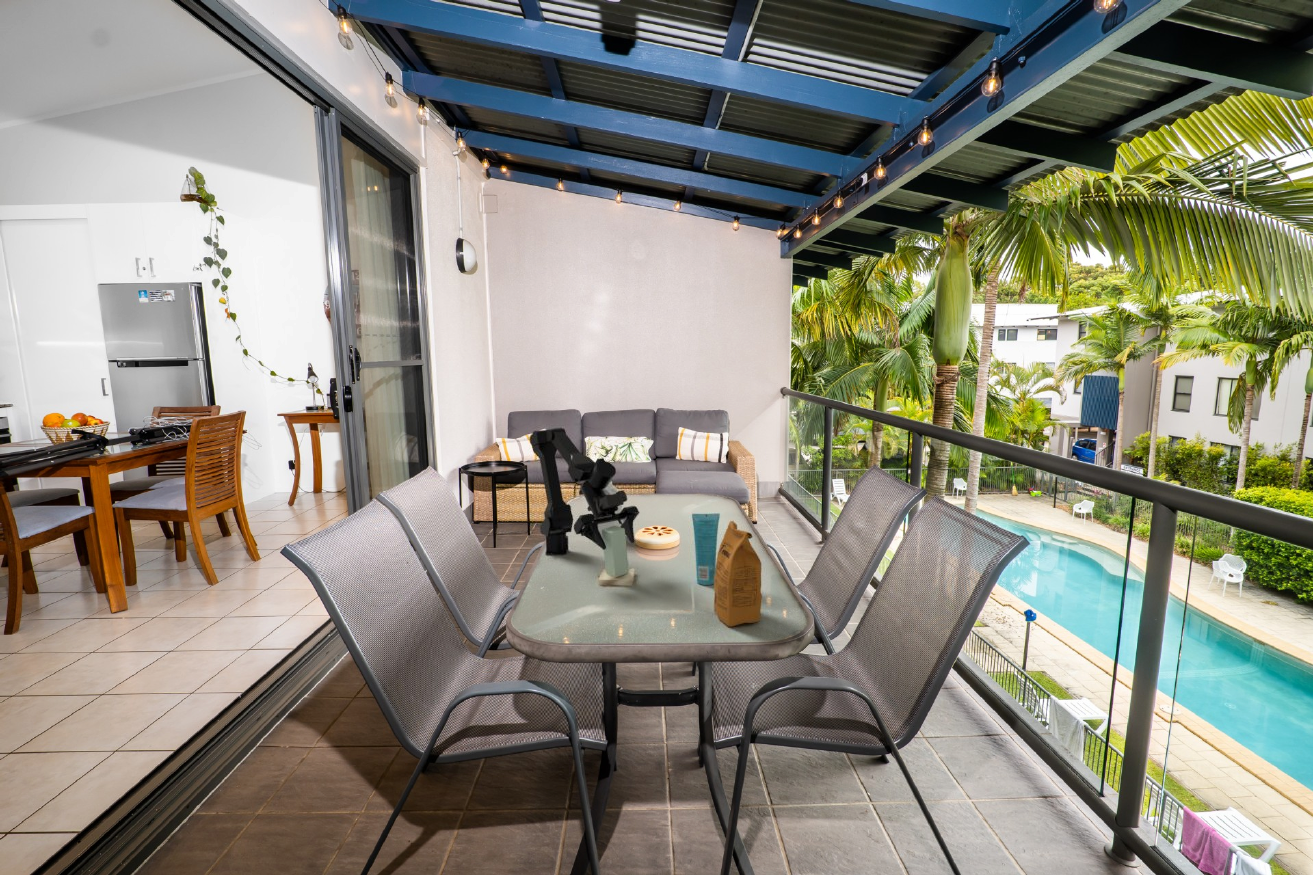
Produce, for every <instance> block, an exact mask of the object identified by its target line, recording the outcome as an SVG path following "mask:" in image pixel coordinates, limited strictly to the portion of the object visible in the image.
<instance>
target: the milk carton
mask: <svg viewBox="0 0 1313 875" xmlns="http://www.w3.org/2000/svg"><path fill="white" fill-rule="evenodd" d="M604 491H605V493H606V495H611V494H616V492H618V491H620V490H619V489H618V488H617V487H616V486H615V485H613V481H612V480H611V481H610V483H609V484H608V486H607V487H606V488H604ZM622 509H623V505H620V506H618V510H617V511H615V514H617V513H620V512H621V511H622ZM612 526H618V527H621V524H619V522H618V521H612V522H607V523H602V524H598V530H599V532H600V534H601V536H602V530H603V529H606V528H609V527H612Z"/></svg>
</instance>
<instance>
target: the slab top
mask: <svg viewBox="0 0 1313 875" xmlns="http://www.w3.org/2000/svg"><path fill="white" fill-rule="evenodd" d="M628 568H629V567H628ZM635 572H636V570H635V568H629V573H626V574H624V575H621V576H619V577H616V578H615V577H613V576H611V575H608V574H606V567H605V568H602V569H601V571H600V574H599V575H600V577H598V586H603V585H618V586H633V585H634V584H633V579H634V580H635V574H636V573H635Z"/></svg>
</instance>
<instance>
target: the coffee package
mask: <svg viewBox="0 0 1313 875" xmlns="http://www.w3.org/2000/svg"><path fill="white" fill-rule="evenodd" d="M750 539H753V535H752V533H751V532H748V531H745V530H740V529H738V525H737V523H736V522H734V520H730V521H729V523H728V525H727V528H726V531H725V533H724V536H723V537H722V539H721V542H720V545H719V548H718V552H717V555H716V567H715V576H714V584H713V586H714V587H713V588H714V598H713V607H714V608H713V610H714V612H715V613H716V614H715V615H716V616H717V618H718V620H719V621H720V622H722V623H724V625H726V626H727V627H735V626H738V625H742V624H751V623H752V624H753V623H757V622H760V621H761V609H762V602H763V601H762V598H763V595H762V591H761V590H762V561H761V559H760V558H759V556H758V553H757V552H756V550H755V549H754V547H753V545H752V544H751V542H750Z"/></svg>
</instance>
